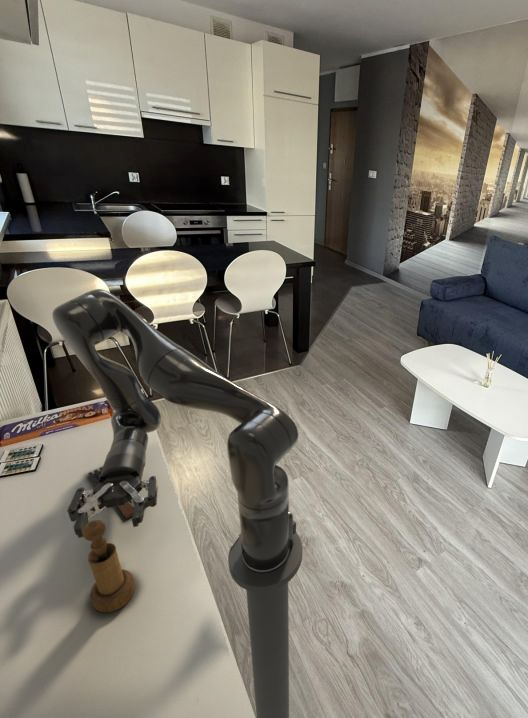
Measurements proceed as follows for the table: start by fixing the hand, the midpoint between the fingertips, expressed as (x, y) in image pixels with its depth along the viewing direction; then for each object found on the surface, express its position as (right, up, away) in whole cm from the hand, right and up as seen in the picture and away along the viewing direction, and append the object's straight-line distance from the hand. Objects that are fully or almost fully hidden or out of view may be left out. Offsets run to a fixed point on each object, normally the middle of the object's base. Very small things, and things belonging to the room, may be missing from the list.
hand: (107, 528), depth 70 cm
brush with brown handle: (-11, -1, +20) cm, 23 cm away
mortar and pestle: (+1, -12, +1) cm, 12 cm away
